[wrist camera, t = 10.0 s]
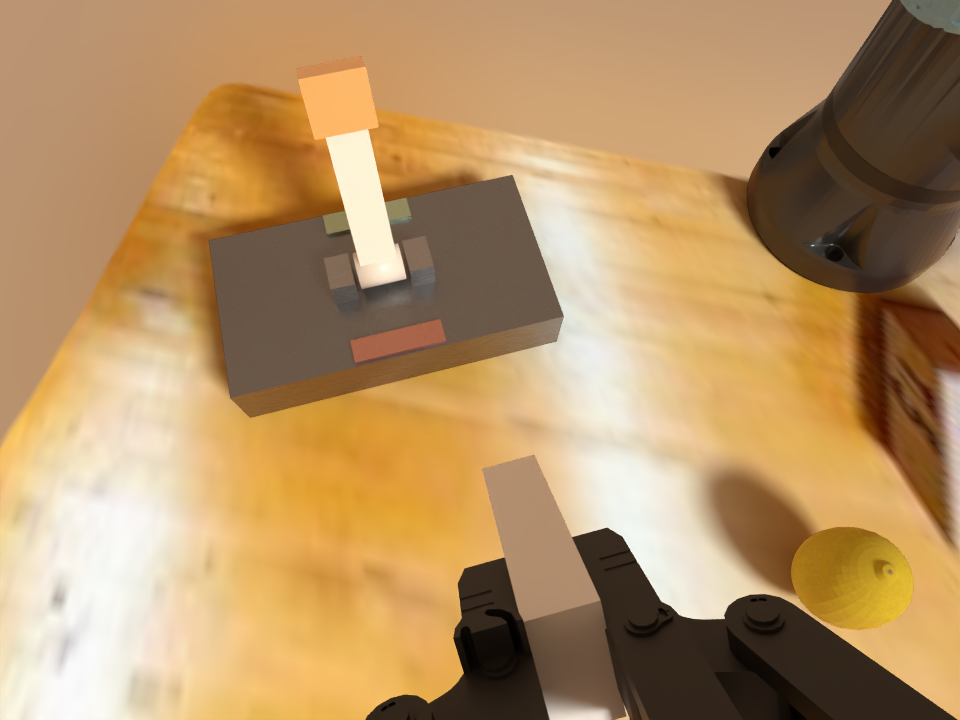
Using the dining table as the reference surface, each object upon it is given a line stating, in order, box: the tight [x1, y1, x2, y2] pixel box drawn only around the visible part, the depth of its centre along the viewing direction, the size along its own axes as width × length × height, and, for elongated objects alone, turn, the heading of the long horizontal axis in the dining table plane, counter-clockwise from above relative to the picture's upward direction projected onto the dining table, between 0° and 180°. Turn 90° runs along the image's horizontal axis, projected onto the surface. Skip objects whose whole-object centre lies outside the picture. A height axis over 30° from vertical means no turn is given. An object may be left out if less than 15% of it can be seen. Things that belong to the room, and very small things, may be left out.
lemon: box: [791, 527, 914, 630], centre depth 37 cm, size 6×6×8 cm
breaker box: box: [209, 175, 564, 418], centre depth 45 cm, size 22×12×6 cm, turn 105°
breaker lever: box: [297, 56, 406, 289], centre depth 39 cm, size 4×3×14 cm
